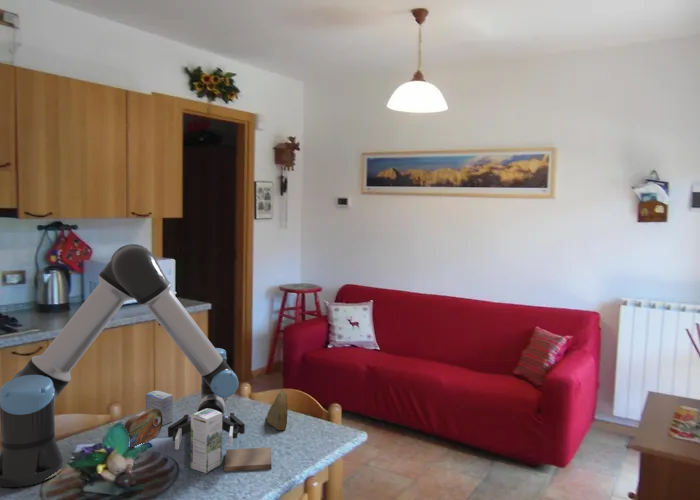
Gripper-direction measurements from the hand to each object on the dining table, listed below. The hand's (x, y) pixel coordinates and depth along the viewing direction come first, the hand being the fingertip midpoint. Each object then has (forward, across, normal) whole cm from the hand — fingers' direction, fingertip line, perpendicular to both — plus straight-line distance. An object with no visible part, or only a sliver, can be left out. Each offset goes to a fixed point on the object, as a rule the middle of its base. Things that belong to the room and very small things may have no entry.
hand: (203, 442), depth 140 cm
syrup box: (-3, 0, -8) cm, 9 cm away
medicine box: (-36, +17, -8) cm, 41 cm away
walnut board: (-5, -11, -8) cm, 15 cm away
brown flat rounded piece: (-21, +19, -8) cm, 30 cm away
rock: (-29, -19, -8) cm, 36 cm away
